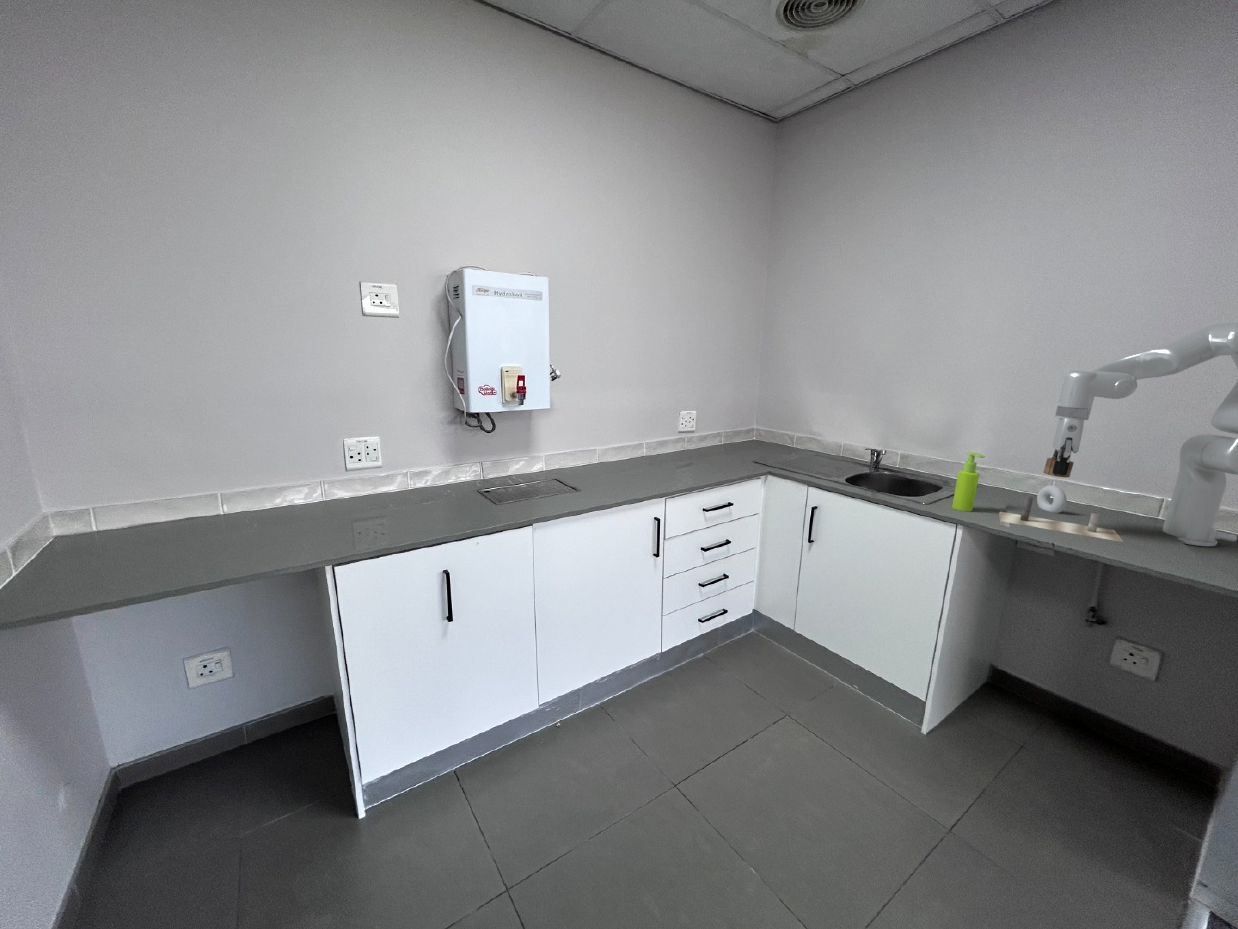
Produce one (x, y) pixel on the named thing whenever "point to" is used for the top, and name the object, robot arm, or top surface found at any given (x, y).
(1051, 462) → the walnut ring
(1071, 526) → the peg board
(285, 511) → the top surface
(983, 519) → the top surface
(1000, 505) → the top surface
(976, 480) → the soap dispenser
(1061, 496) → the donut
